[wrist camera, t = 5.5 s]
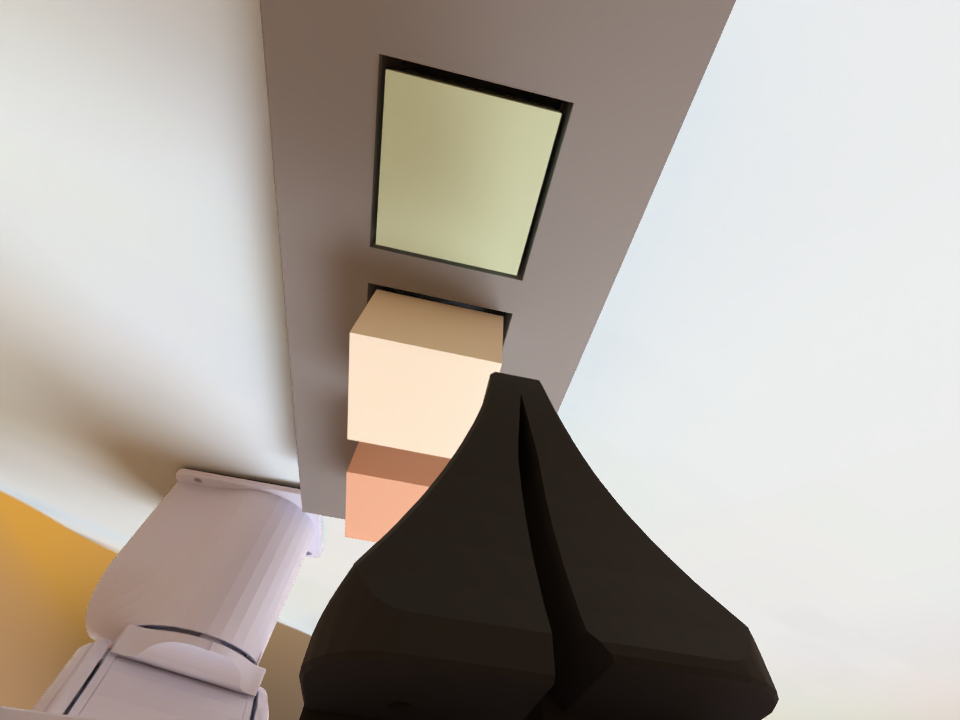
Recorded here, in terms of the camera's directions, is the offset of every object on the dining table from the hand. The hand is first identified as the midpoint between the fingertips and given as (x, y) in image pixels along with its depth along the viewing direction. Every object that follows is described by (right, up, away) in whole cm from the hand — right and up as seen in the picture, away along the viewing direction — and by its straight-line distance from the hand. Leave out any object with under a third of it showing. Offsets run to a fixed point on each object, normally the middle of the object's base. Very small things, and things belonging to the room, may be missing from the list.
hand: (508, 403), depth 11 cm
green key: (-1, +8, +4) cm, 9 cm away
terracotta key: (-4, -4, +10) cm, 12 cm away
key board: (-3, +3, +8) cm, 9 cm away
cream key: (-3, +1, +6) cm, 7 cm away
